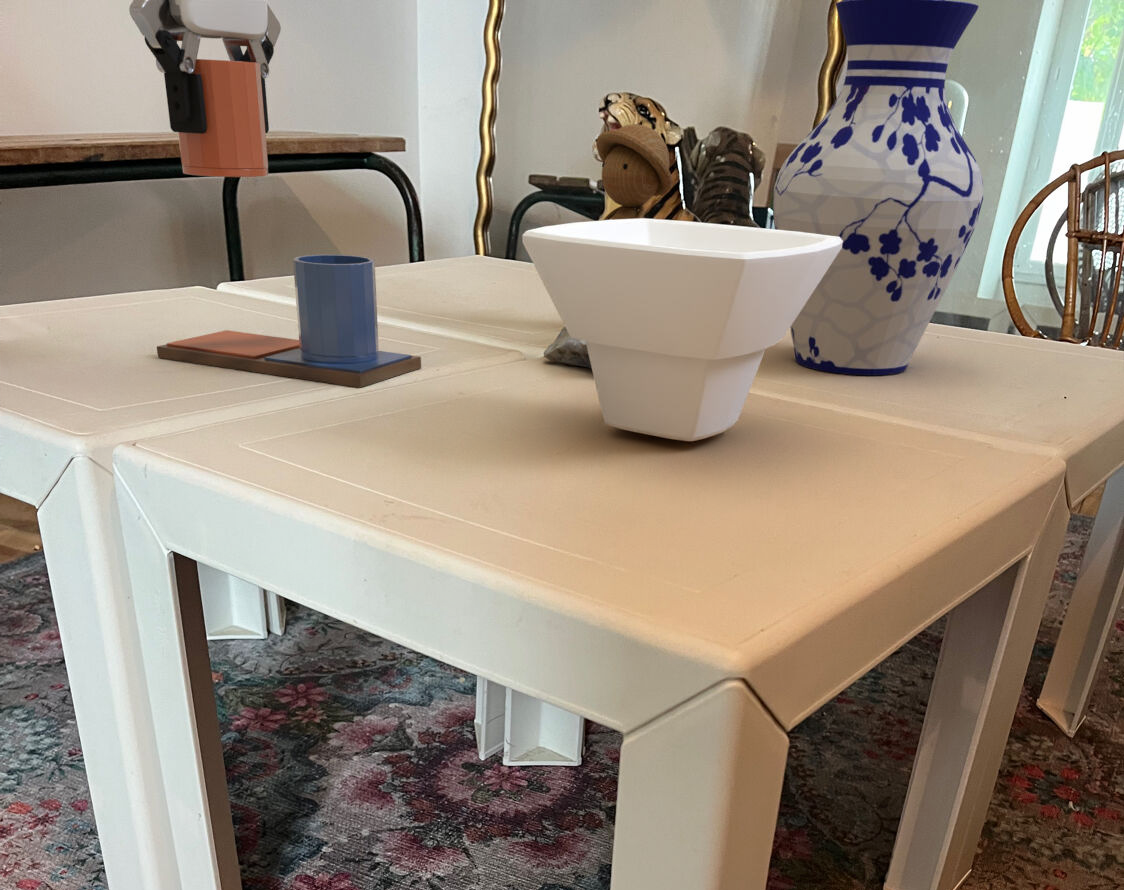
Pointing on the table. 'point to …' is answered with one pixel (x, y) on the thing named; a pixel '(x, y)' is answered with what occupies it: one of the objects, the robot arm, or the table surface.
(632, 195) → the figurine
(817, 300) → the vase
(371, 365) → the board
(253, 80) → the terracotta cup
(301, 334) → the blue cup
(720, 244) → the bowl
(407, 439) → the table surface
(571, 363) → the rock
